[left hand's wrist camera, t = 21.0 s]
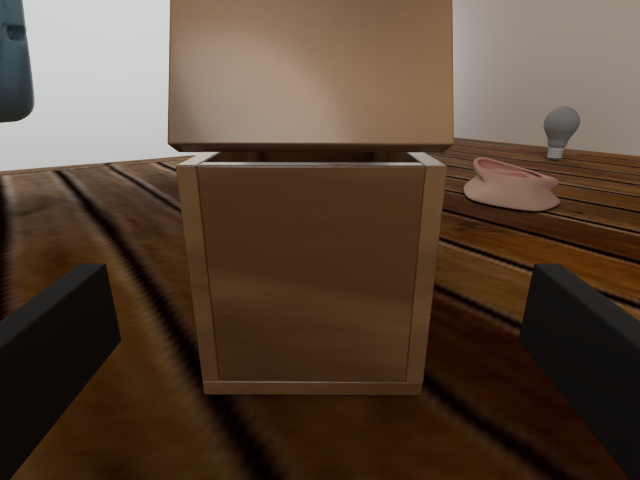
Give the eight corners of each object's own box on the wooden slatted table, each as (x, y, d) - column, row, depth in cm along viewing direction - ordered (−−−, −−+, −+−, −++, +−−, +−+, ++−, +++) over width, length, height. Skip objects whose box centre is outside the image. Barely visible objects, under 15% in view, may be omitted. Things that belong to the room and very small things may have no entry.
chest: (258, 254, 34) (251, 127, 30) (375, 254, 34) (382, 127, 30) (203, 395, 18) (174, 164, 14) (421, 396, 18) (447, 165, 14)
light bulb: (543, 161, 77) (554, 107, 74) (532, 156, 83) (542, 106, 79) (576, 162, 76) (589, 107, 73) (563, 157, 82) (574, 106, 78)
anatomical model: (572, 179, 42) (459, 170, 47) (564, 215, 44) (455, 203, 48) (560, 160, 53) (470, 155, 58) (554, 190, 55) (466, 182, 59)
